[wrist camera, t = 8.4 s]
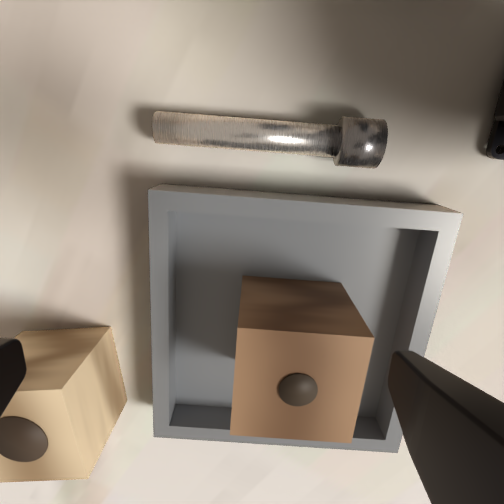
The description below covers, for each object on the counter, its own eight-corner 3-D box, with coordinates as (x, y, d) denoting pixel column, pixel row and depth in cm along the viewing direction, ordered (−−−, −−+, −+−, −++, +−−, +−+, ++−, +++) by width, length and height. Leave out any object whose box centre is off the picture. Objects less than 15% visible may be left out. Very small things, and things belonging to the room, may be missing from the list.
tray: (437, 204, 19) (463, 213, 17) (383, 422, 24) (397, 452, 22) (161, 183, 19) (147, 189, 17) (163, 408, 24) (153, 436, 22)
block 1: (111, 325, 22) (60, 390, 16) (127, 399, 24) (87, 480, 18) (23, 330, 22) (-59, 396, 17) (46, 402, 24) (-20, 484, 18)
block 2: (341, 282, 20) (375, 339, 15) (326, 366, 22) (351, 445, 16) (242, 275, 20) (237, 328, 14) (236, 359, 22) (229, 436, 16)
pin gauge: (374, 121, 18) (391, 117, 16) (366, 166, 19) (381, 170, 16) (160, 104, 18) (146, 98, 16) (160, 150, 19) (147, 152, 16)
